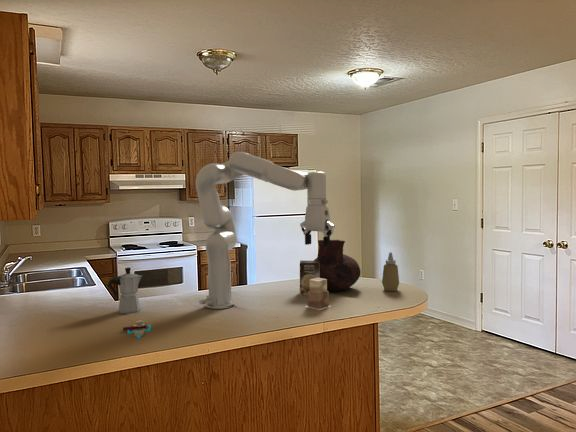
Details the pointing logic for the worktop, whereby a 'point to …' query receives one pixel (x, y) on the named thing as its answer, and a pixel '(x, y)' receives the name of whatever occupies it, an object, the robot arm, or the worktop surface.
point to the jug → (337, 266)
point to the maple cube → (318, 285)
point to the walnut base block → (318, 300)
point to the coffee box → (308, 274)
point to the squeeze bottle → (390, 274)
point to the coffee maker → (127, 291)
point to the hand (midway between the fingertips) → (317, 245)
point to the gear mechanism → (140, 326)
